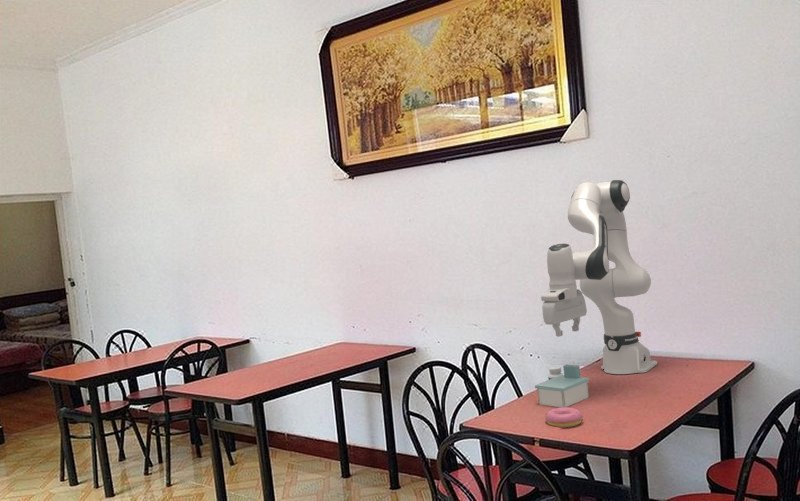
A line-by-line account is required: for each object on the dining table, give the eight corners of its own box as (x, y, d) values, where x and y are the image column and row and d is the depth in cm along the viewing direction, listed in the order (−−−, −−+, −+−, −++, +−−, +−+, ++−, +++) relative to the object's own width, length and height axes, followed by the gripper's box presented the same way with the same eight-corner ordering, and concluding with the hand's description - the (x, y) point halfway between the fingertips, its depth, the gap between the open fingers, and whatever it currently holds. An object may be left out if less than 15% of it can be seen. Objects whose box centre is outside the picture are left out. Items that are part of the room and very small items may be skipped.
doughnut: (560, 432, 205) (559, 417, 205) (538, 423, 215) (537, 410, 215) (590, 424, 209) (589, 410, 209) (568, 416, 219) (566, 403, 219)
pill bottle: (565, 394, 244) (562, 369, 244) (550, 395, 245) (547, 370, 245) (565, 390, 249) (562, 365, 249) (549, 391, 250) (547, 366, 250)
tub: (563, 395, 243) (562, 378, 243) (589, 398, 235) (587, 380, 235) (539, 406, 234) (537, 388, 233) (564, 409, 226) (562, 391, 226)
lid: (561, 377, 243) (560, 363, 243) (589, 380, 235) (587, 365, 235) (535, 388, 233) (533, 373, 233) (563, 391, 225) (561, 376, 225)
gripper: (573, 288, 246) (577, 327, 247) (537, 297, 233) (541, 338, 233) (589, 288, 242) (593, 328, 242) (553, 297, 228) (557, 339, 229)
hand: (567, 333), depth 238 cm, fingers open, 8 cm apart
